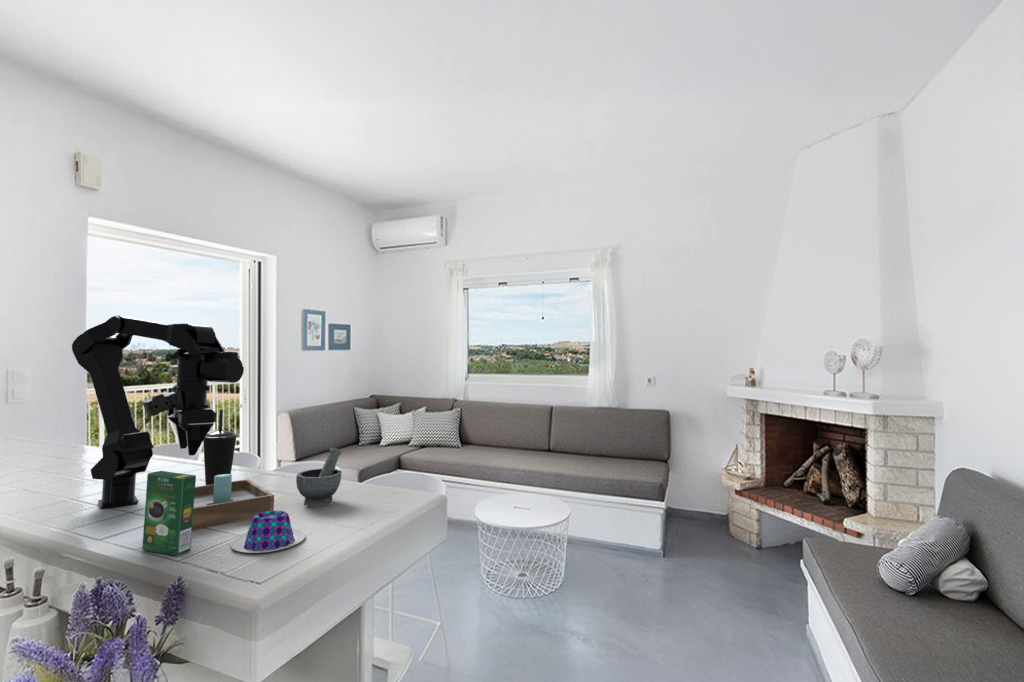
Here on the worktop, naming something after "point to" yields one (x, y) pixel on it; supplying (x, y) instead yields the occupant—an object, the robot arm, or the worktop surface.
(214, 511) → the insert box
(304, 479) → the mortar and pestle
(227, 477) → the peg
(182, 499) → the coffee box
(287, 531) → the patterned hat
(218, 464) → the drinking cup
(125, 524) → the worktop surface
